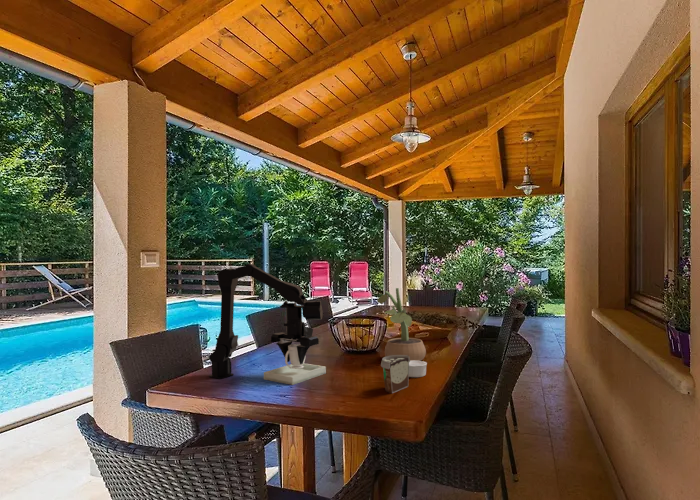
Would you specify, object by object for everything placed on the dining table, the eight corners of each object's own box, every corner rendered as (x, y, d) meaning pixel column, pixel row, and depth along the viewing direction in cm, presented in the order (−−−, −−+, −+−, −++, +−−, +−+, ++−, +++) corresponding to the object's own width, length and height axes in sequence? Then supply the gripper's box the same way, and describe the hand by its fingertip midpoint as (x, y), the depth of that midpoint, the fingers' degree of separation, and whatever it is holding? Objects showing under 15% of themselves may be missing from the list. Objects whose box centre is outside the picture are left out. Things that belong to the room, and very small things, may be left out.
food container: (395, 382, 162) (394, 353, 162) (410, 385, 158) (409, 355, 158) (373, 391, 152) (372, 360, 152) (389, 394, 148) (388, 362, 148)
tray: (292, 385, 162) (292, 377, 162) (263, 379, 170) (263, 372, 170) (325, 373, 176) (325, 366, 176) (297, 368, 184) (297, 362, 184)
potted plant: (391, 353, 208) (389, 285, 208) (431, 356, 200) (429, 285, 200) (370, 365, 188) (368, 289, 188) (413, 368, 180) (411, 289, 180)
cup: (311, 366, 175) (310, 344, 175) (293, 372, 167) (293, 349, 167) (296, 364, 179) (296, 342, 179) (278, 370, 171) (278, 347, 171)
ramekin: (400, 372, 176) (400, 360, 176) (424, 371, 176) (423, 359, 176) (404, 378, 167) (404, 366, 167) (429, 377, 167) (429, 365, 167)
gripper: (327, 318, 174) (328, 361, 174) (290, 315, 185) (291, 355, 185) (307, 322, 165) (308, 367, 165) (269, 319, 176) (270, 361, 176)
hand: (294, 362), depth 173 cm, fingers closed on cup, 6 cm apart
